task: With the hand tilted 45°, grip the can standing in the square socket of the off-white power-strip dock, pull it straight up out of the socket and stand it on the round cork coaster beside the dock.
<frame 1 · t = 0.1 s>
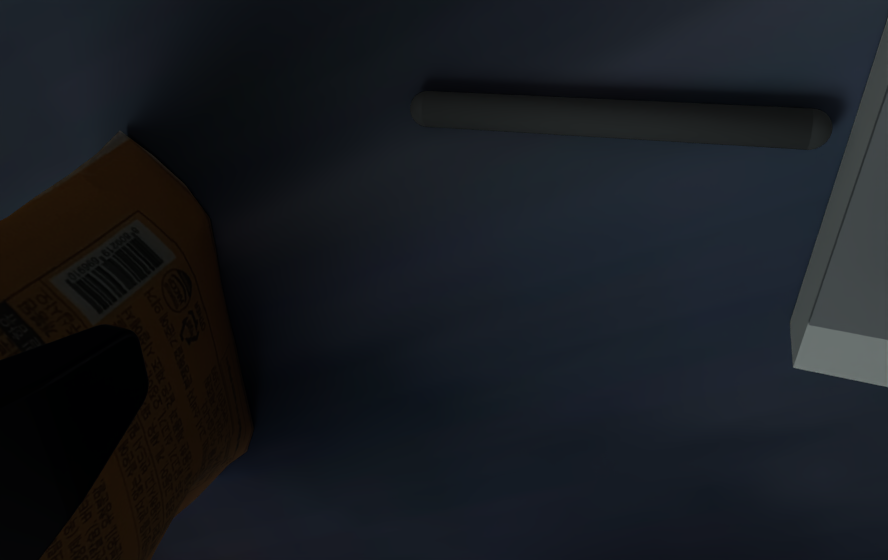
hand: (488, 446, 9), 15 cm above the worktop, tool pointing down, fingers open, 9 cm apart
pancake mix bag: (202, 327, 31), on the worktop
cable: (607, 112, 21), on the worktop
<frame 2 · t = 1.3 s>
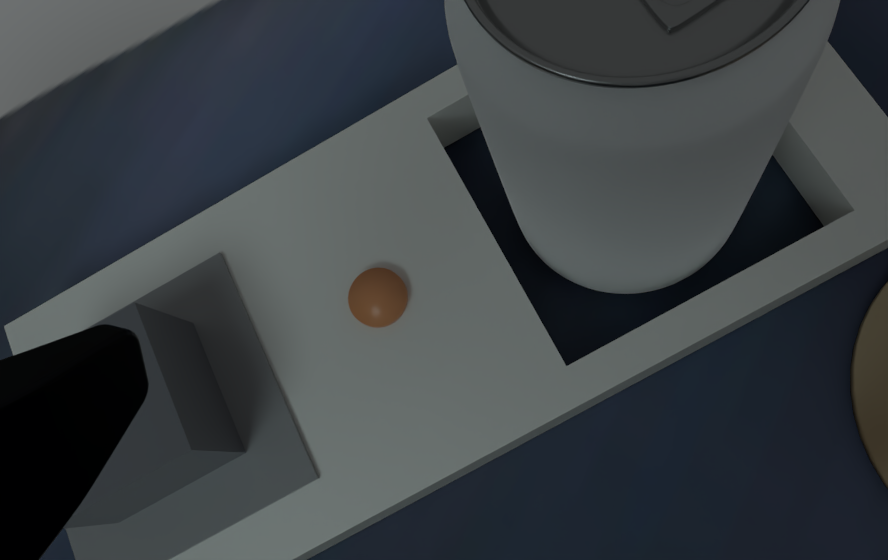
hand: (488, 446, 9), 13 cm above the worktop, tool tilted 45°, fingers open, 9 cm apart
strip dock: (444, 289, 23), on the worktop
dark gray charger: (199, 425, 24), resting on strip dock
can: (624, 191, 23), resting in strip dock
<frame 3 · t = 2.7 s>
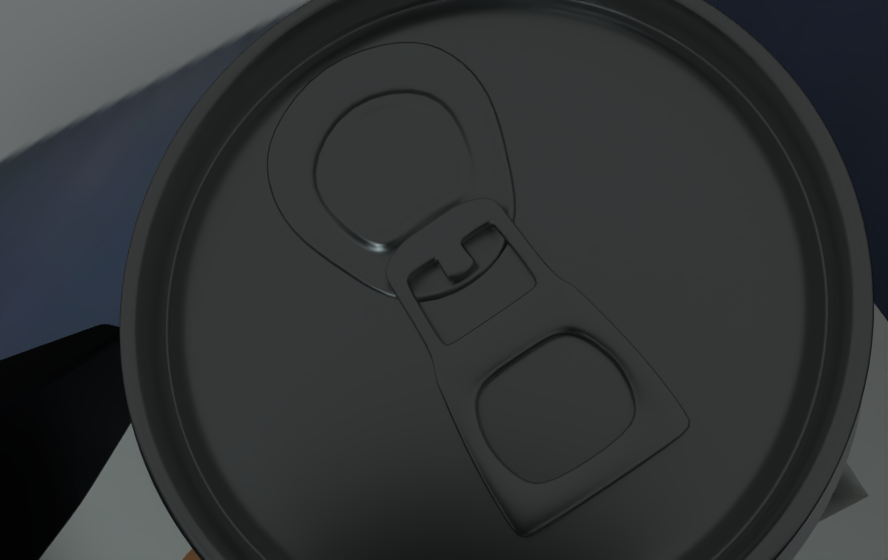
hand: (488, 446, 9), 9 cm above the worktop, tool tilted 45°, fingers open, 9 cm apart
strip dock: (322, 539, 18), on the worktop
can: (559, 411, 17), resting in strip dock
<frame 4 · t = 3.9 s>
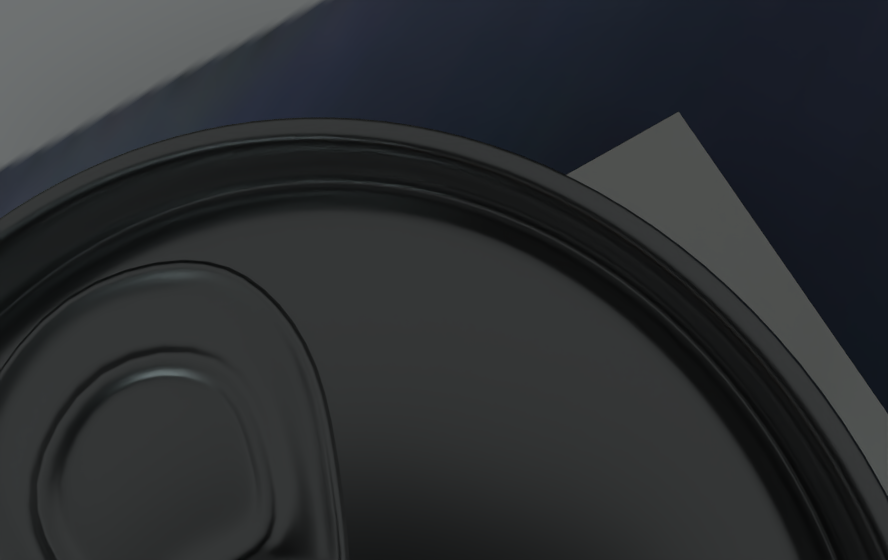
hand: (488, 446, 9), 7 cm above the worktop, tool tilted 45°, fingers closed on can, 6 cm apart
can: (527, 532, 15), resting in strip dock, touching gripper
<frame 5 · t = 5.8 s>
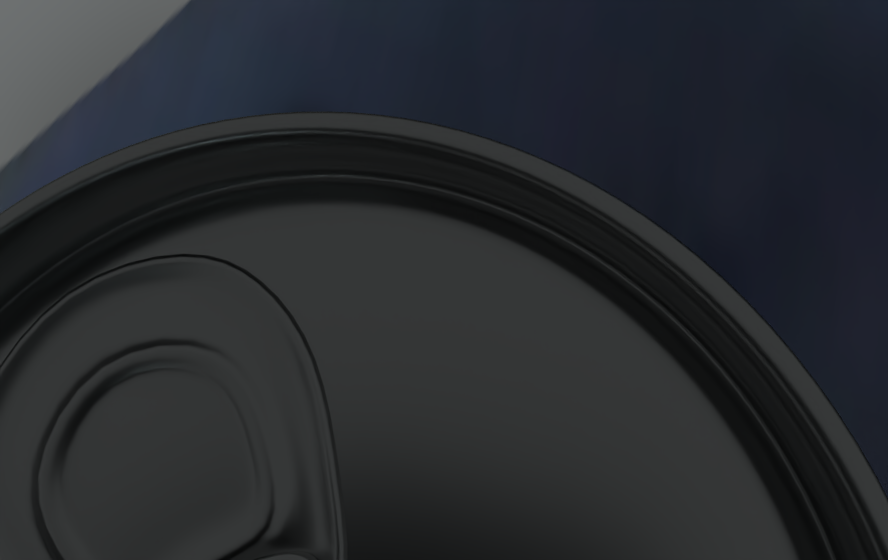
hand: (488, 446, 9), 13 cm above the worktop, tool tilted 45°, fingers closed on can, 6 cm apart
can: (528, 529, 15), point 6 cm above the worktop, touching gripper
when the fingers open (8 cm above the worktop, at t = 7.4 s): can stays where it is, resting on cork coaster.
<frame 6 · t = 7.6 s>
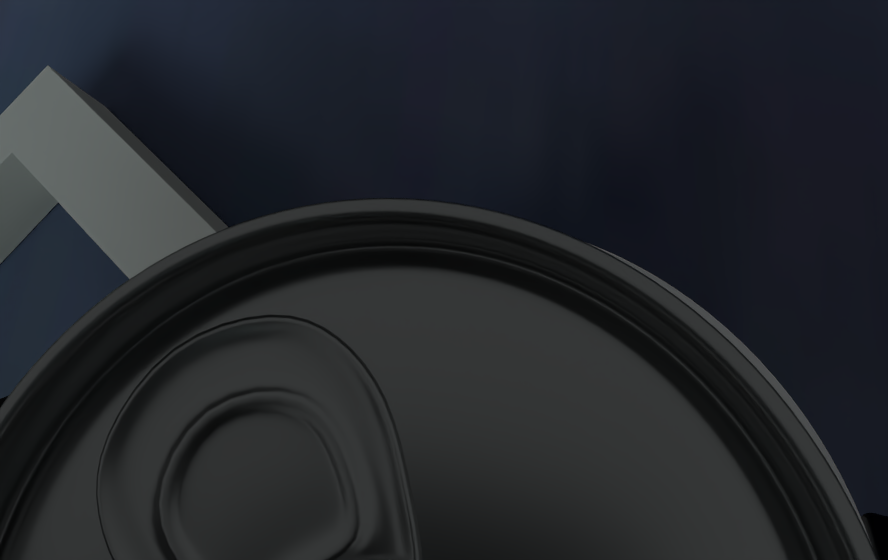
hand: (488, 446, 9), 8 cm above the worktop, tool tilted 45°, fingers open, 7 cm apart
can: (539, 533, 16), resting on cork coaster
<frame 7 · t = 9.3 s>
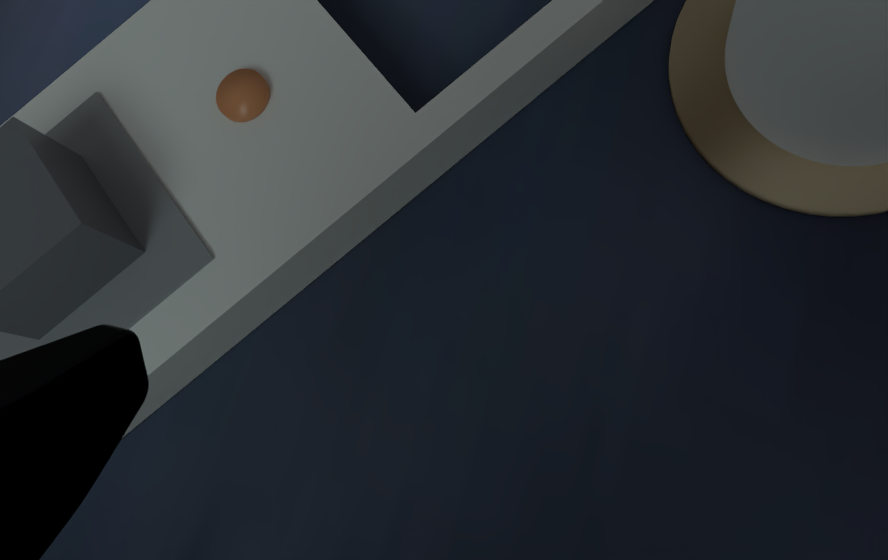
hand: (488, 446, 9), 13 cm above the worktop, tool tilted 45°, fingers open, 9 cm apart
strip dock: (310, 97, 25), on the worktop
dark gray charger: (109, 264, 25), resting on strip dock
cork coaster: (834, 64, 22), on the worktop
can: (842, 65, 22), resting on cork coaster
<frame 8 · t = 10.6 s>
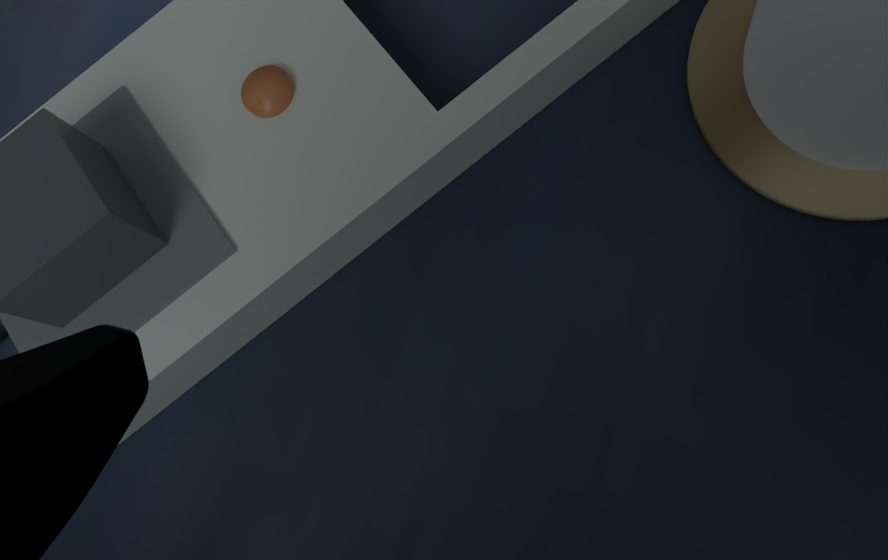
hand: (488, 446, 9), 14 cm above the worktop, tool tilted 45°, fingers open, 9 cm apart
strip dock: (332, 95, 26), on the worktop
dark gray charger: (130, 256, 26), resting on strip dock
cork coaster: (850, 70, 22), on the worktop
can: (858, 72, 22), resting on cork coaster
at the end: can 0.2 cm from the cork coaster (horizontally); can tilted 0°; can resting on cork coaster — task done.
